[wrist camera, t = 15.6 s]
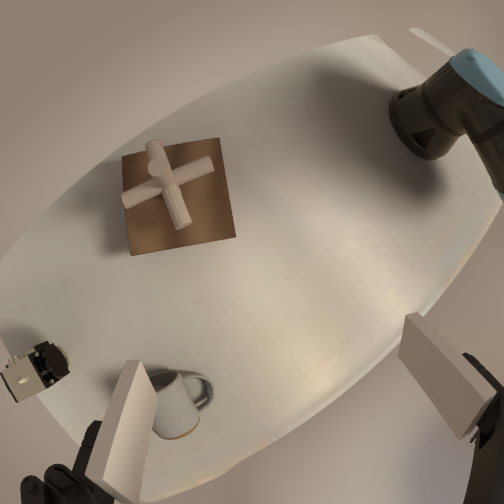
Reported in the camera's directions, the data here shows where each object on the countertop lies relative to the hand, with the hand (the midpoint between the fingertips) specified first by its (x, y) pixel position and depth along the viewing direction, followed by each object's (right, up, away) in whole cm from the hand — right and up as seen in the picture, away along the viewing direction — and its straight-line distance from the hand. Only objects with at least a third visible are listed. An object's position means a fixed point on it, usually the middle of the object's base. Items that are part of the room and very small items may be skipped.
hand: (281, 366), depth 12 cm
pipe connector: (-11, +12, +20) cm, 26 cm away
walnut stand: (-11, +12, +25) cm, 30 cm away
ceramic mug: (-12, -15, +24) cm, 31 cm away
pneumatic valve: (-32, -11, +21) cm, 40 cm away
